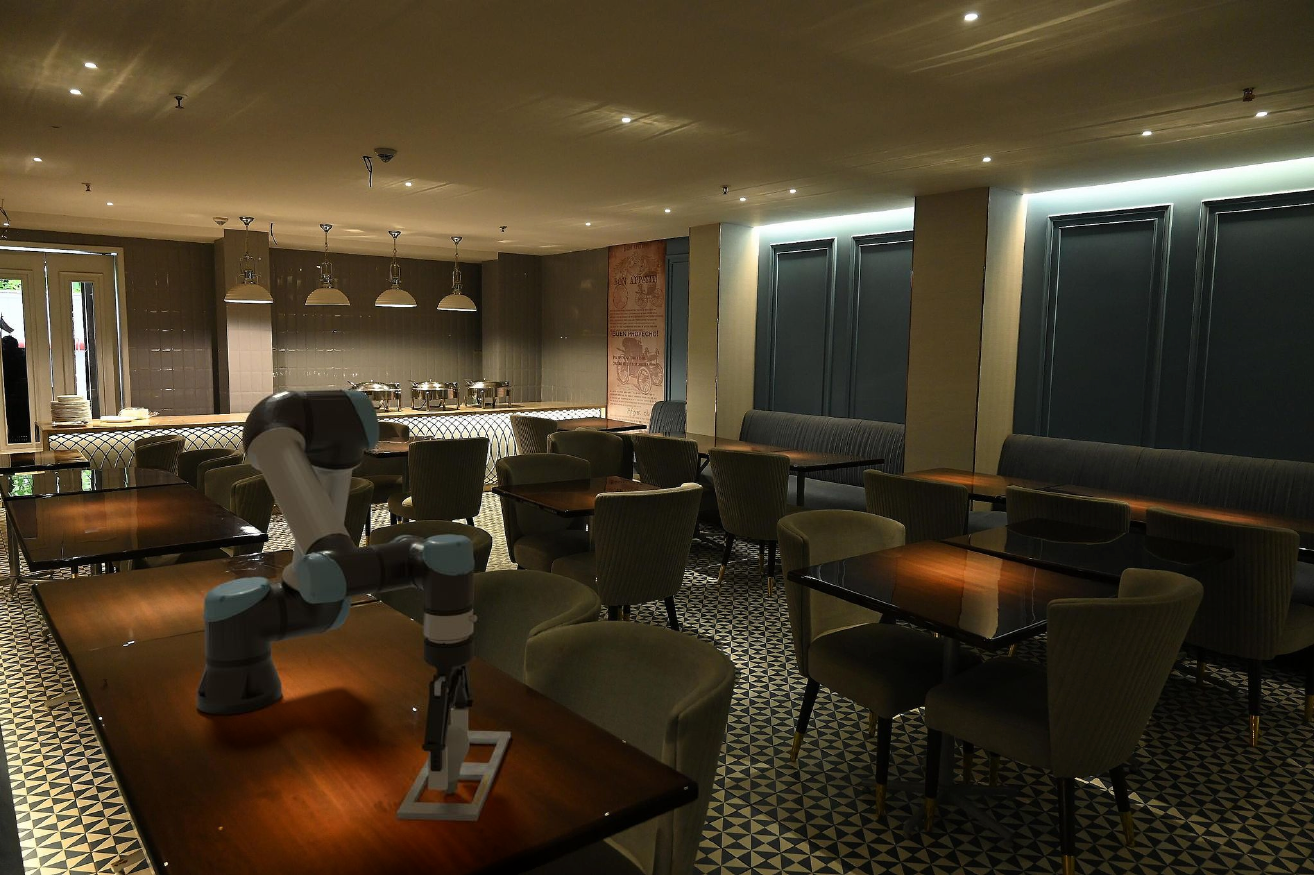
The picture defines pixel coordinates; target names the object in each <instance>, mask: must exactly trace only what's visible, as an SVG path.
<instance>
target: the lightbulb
mask: <svg viewBox="0 0 1314 875" xmlns="http://www.w3.org/2000/svg"><path fill="white" fill-rule="evenodd" d="M446 746H448V788H447V790H441V792H442V793H443V794H446V795H452V794H453V793H455V792H456V791H458V788H459V780H458V778H459V776H460V769H461V765H462V762H464V760H465V758H466V756H467V755H468V753H469V749H470V744H469V738H468V736H467V734H466V732H465V731H464V730H463V729H462V728H460V727H458V726H454V725H451V724H449V725H448V732H447V738H446Z"/></svg>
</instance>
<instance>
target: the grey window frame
mask: <svg viewBox="0 0 1314 875" xmlns="http://www.w3.org/2000/svg"><path fill="white" fill-rule="evenodd" d="M468 738H469V745H471V744H476V745H477V744H478V745H495V747H494V750H493V752H492V755H491V756H490V759H489V762H464V761H463V762H462V765H461V769H460V776H459V778H458V781H477V782H478V781H480V783H479V785H478V787H477V790H476V792H475V794H474V796H473V800H472V801H471V803H459V802H455V803H453V802H421V801H419V802H418V800H419V798H420V796H421V795H422V793H423V791H424V788H425V787H426V785H427V783H428V759H427V760H426V761H425V763H424V765H423V766H422V768H421V770H420V771H419V774H418V775H417V777H416V778H415V781H414V783H413V784H412V785H411V787H410V789H409V790H408V793H407V794H406V796H405V798H404V799H403V801H402V802H401V804H400V806H399V808H398V809H397V811H396V819H397V820H421V821H424V820H425V821H426V820H428V821H429V820H430V821H463V822H464V821H465V822H467V821H468V822H469V821H470V822H477V821H478V819H479V816H480V814H481V812H482V810H483V807H484V804H485V801H486V800H487V797H488V794H489V793H490V792H489V791H490V789H491V787H492V784H493V782H494V779H495V776H496V774H497V771H498V769H499V767H500V764H501V762H502V759H503V756H504V754H505V751H506V749H507V748H508V745H509V742H510V740H511V731H494V730H468Z"/></svg>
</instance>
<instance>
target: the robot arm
mask: <svg viewBox="0 0 1314 875" xmlns="http://www.w3.org/2000/svg"><path fill="white" fill-rule="evenodd" d="M379 423H380V422H379V417H378V414H377V410H376V408H375V405H374V403H373V401H372V400H371V398H370V397H369V396H368V395H367V394H366V393H364V392H363V391H361V390H356V389H355V390H353V389H352V390H349V389H347V390H346V389H343V388H341V389H334V390H333V389H331V390H330V389H328V390H327V389H326V390H322V389H321V390H283V391H278V392H275V393H271V394H270V395H268V396H265V397H264V398H263V399H261V400H260V401H259V402H257V403H256V404H255V406H254V407H253V408H252V409H251V410H250V412H249V413H248V415H247V417H246V420H245V422H244V424H243V428H242V434H241V443H242V448H243V451H244V453H245V456H246V458H247V460H248V462H249V464H250V465H251V466H252V467H253V468H255V469H256V470H257V471H260V472H261V474H262V475H263V478H264V480H265V482H266V484H267V486H268V488H269V490H270V492H271V495H272V496H273V498H274V500H275V502H276V504H277V506H278V508H279V511H280V513H281V514H282V517H283V518H284V520H285V522H286V525H287V526H288V528H289V530H290V532H291V534H292V537H293V539H294V547H293V555H292V560H291V563H289V564H288V565H286V566H285V567H284V569H283V571H282V575H281V581H278V582H276V581H275V582H272V583H271V582H270V581H269V579H268V578H267V577H266V578H265V577H263V576H262V577H261V576H252V577H243V578H237V579H233V580H229V581H226V582H224V583H221V584H218V585H217V586H215V587H214V588H212V589H211V590H209V591H208V593H207V594H206V595H205V597H204V602H203V614H202V619H203V620H204V621H203V623H204V624H203V625H204V626H203V627H204V628H203V629H204V651H205V666H204V670H203V673H202V677H201V680H200V683H199V686H198V689H197V692H196V707H197V709H198V710H199V711H201V712H203V713H205V714H210V715H218V716H219V715H221V716H222V715H225V716H226V715H228V716H229V715H238V714H244V713H250V712H253V711H257V710H260V709H262V708H265V707H269V706H270V705H272V704H274V703H275V702H277V701H279V699H280V698H281V697H282V695H283V694H282V693H283V691H282V690H283V689H282V681H281V679H280V676H279V673H278V671H277V668H276V666H275V663H274V661H273V658H272V643H275V642H280V641H285V640H290V639H294V638H295V639H296V638H301V637H306V636H310V635H311V636H312V635H315V634H323V633H326V632H328V631H332V630H335V629H338V628H339V627H341V626H342V625H343V624H344V623H345V622H346V620H347V618H348V616H349V614H350V610H351V605H352V598H357V597H362V596H367V595H372V594H379V593H386V592H390V591H395V590H403V589H407V588H416V589H417V590H420V591H422V592H423V636H425V637H424V639H423V660H424V662H425V664H427V665H428V666H432V667H434V668H435V669H436V671H435V672H436V673H435V674H434V675H433V679H432V680H430V681H429V685H428V686H429V688H428V689H429V690H428V691H429V692H428V694H429V695H428V703H427V704H428V705H427V714H426V722H425V723H426V725H425V732H424V733H425V734H424V740H423V743H422V744H421V749H422V750H423V751H424V752H427V757H428V758H427V760H428V782H427V783H428V784H427V785H428V786H427V789H428V791H430V790H431V791H435V790H436V791H442V790H447V788H448V746H446V738H447V732H448V725H454V726H458V727H460V728H462V729H463V730H464V731H465V732H466V734H467V736H468V731H469V708H473V706H474V699H471V697H472V690H471V683H470V675H469V669H468V663H470V662H471V661H472V660H473V659H474V657H475V656H474V655H475V653H474V650H475V649H474V645H475V644H474V643H475V642H474V636H473V633H474V622H477V620H478V617H477V615H475V614H473V612H474V602H475V601H474V589H475V588H474V587H475V583H474V582H475V578H474V577H475V558H474V547H473V546H474V543H473V541H472V540H471V539H470V538H469V537H467V536H465V535H462V534H461V535H460V534H459V535H458V534H453V533H452V534H450V533H449V534H437V535H432V536H430V537H428V538H426V539H425V538H424V537H423V536H422V537H421V536H418V535H410V534H402V535H399V536H397V537H395V538H393V539H392V540H390V541H389V542H387V543H385V542H384V543H378V544H373V545H372V544H371V545H364V546H363V545H362V546H357V545H355V542H354V541H353V540H352V537H351V535H350V534H349V532H348V530H347V528H346V526H345V520H346V519H345V518H346V511H347V508H348V501H349V500H348V499H349V495H350V487H351V482H352V474H353V470H354V469H356V468H358V467H360V465H361V464H362V462H363V458H364V452H365V451H366V452H367V451H368V452H370V451H371V450H373V449H374V448H376V447H377V445H378V443H379V438H380V424H379Z"/></svg>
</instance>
